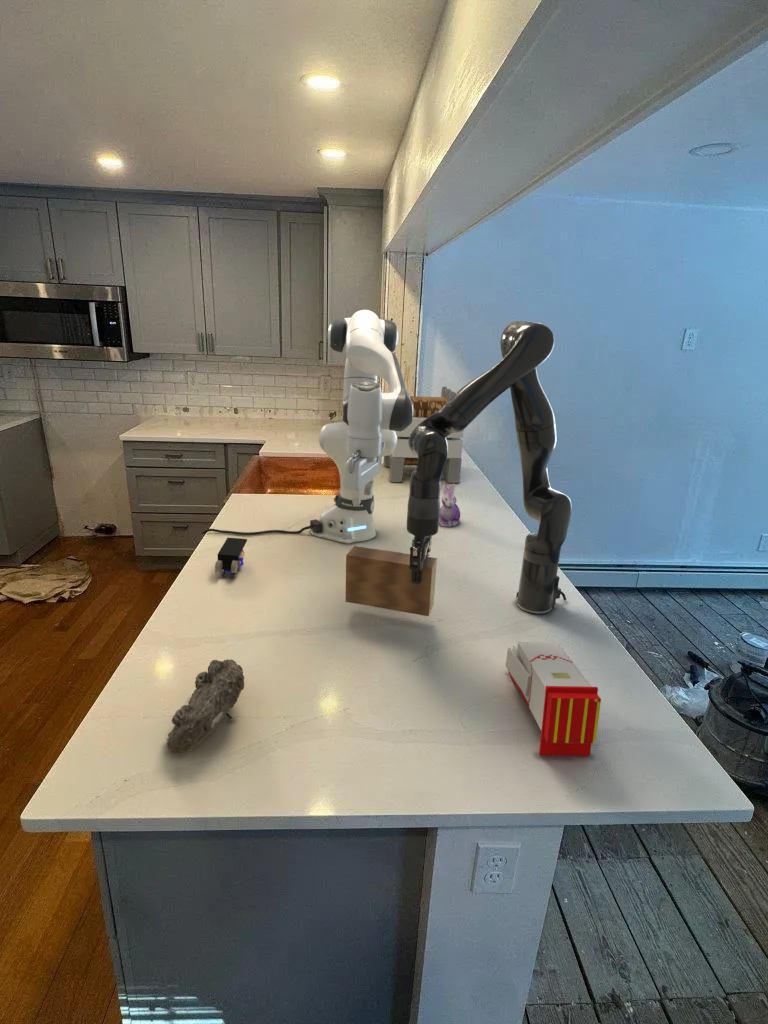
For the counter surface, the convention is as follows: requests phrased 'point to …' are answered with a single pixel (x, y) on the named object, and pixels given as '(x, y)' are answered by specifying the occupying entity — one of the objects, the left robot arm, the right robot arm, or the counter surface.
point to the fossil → (206, 705)
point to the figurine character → (230, 556)
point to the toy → (556, 697)
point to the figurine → (449, 508)
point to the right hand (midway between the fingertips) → (419, 576)
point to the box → (389, 581)
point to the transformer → (402, 452)
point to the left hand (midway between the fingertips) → (362, 499)
